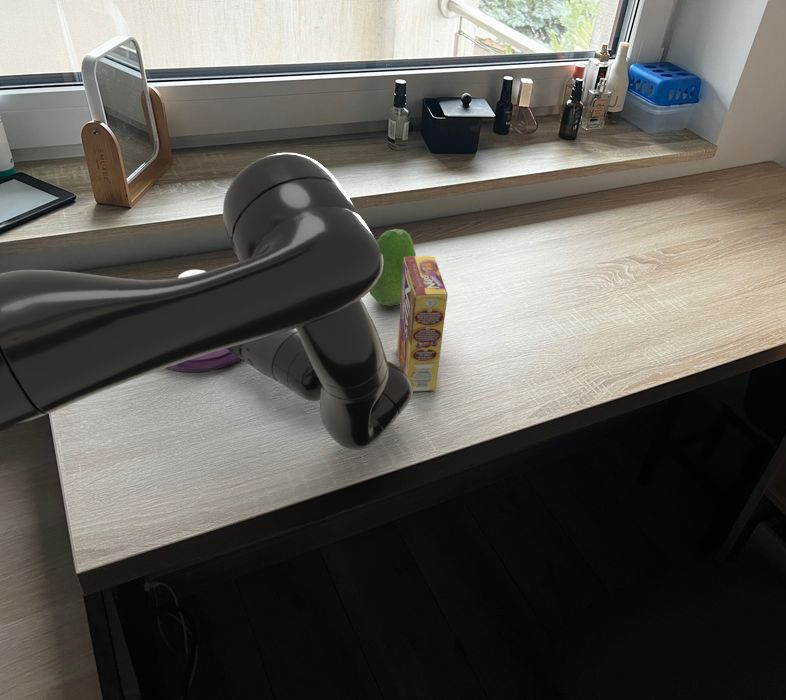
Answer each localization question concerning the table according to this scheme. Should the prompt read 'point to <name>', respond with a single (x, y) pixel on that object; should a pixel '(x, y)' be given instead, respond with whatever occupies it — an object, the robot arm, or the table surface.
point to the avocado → (392, 266)
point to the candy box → (421, 321)
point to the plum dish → (207, 362)
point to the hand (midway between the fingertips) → (183, 284)
